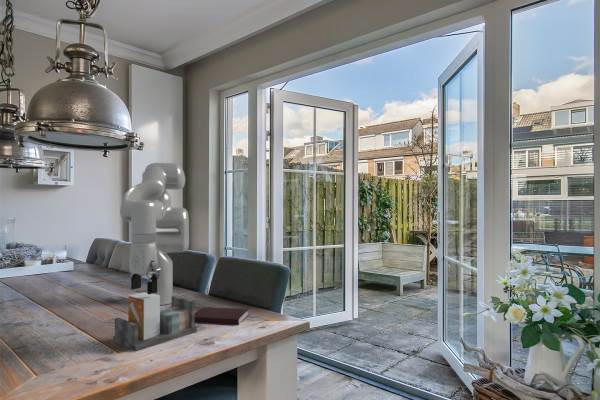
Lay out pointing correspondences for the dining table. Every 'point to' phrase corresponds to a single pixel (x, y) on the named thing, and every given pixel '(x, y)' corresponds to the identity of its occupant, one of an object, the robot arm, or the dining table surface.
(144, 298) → the small box
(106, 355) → the dining table surface
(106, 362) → the dining table surface
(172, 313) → the rack
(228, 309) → the book
